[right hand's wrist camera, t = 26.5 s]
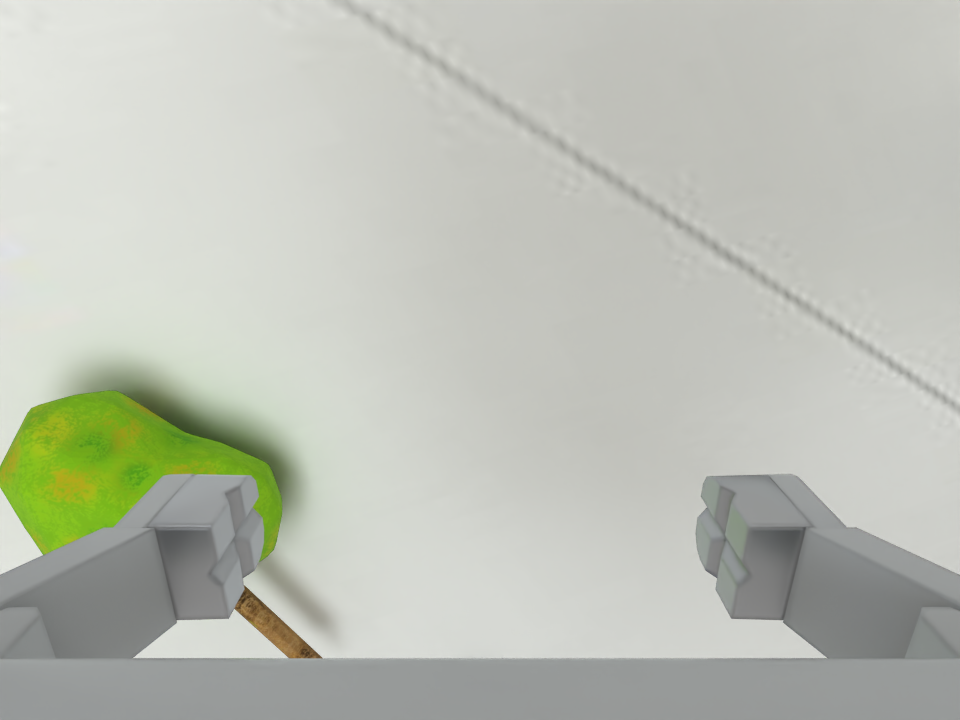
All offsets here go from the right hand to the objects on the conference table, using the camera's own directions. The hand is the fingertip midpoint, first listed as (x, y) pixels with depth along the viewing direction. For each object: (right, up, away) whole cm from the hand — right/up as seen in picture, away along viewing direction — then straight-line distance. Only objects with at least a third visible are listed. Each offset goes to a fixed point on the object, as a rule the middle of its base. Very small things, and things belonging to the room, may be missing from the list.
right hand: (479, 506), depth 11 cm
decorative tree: (-22, -10, +38) cm, 45 cm away
